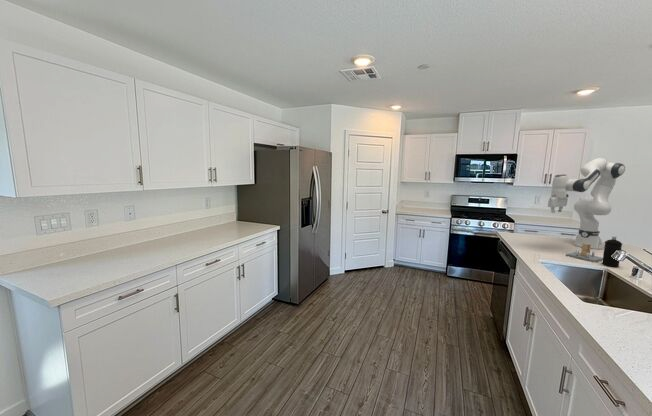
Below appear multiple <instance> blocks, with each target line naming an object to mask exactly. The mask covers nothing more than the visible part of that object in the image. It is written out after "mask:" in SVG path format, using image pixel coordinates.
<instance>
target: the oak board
mask: <svg viewBox="0 0 652 416" xmlns="http://www.w3.org/2000/svg"><path fill="white" fill-rule="evenodd" d="M591 249H592V248H591V244H587V243H585V244H582V247H581V251H580V253H581V256H584V257H586V254H587V253H589V255H591Z"/></svg>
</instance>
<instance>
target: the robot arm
mask: <svg viewBox="0 0 652 416" xmlns="http://www.w3.org/2000/svg"><path fill="white" fill-rule="evenodd" d="M625 172H626V166H625V165H624V164H623V163H621V162H619V163H618V162H610V161H609V162H608V160H607V159H605V158H604V157H603V158H602V157H597V158H595V159H592V160H590V161H588V162H587V163H585V164H584V165H583V166H581V168H580V173H581V175H582V176H583V177H584V178H570V177H568V175H567V174H557V175H554V177H553V179H552V183H551V186H552V189H551V192H550V194H551V195H550V197H549V198H548V200H547V207H548V208H550V211H551V213H553V214H554V213H556V210H555V209H556V208H558V209H557V212H558V213H562V210H563V208H564V207H566V206H567V205H568V198H569V196H570V195H569V194H568V193H567V192H576V193H585V192H586V191H587V190H588V189H589V188H590V186H592V184H593V183H594V182H595V181H596V180H597V179H598V180H597V181H596V182H595V184H594V185H593V188H592V189H591V191H590V195H591V196H592V197H593V199H592V200H577V201H576V202H575V203H574V204H573V209H574V211H575V212H576V213H577V214H578V217H579V220H580V223H579V224H580V225H579V229H578V233H577V234H576V235H575V239H574V242H572V244H573V245H575V246H577V247H579V248H582V244H585V243H587V244H591V248H590V249H593V250H594V249H595V250H596V249H597V250H602V249H604V247H605V244H602V243H603V242H602V241H603V240H602V239H601V238H600V236H599V235H600V231H599V224H600V221H599V220H598V219H596V218H595V216H607V215H609V214H610V213H611V211H612V206H611V204H609V196H610V194H611V193H612V191H613V189H614V186H615V185H616V181H617V179H618V178H620V177H621V176H622V175H623V174H624V173H625Z"/></svg>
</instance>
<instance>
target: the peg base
mask: <svg viewBox="0 0 652 416" xmlns="http://www.w3.org/2000/svg"><path fill="white" fill-rule="evenodd" d="M595 253H596V252H595V251H591V254H590V255H589V253H587V254H586V257H584V256H581V252H580V251H579V250H576V251H573V252H569V253H566V254H565V257H568V256H569V257H568V258H573V259H578V260H582V261H587V262H590V261H591V263H594V262H596V263H599V261H600V262H603V261H602V260H603V257H602V256H597V255H595Z"/></svg>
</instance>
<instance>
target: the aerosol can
mask: <svg viewBox="0 0 652 416" xmlns="http://www.w3.org/2000/svg"><path fill="white" fill-rule="evenodd" d="M604 246H605V247H604V248H603V255H602V256H603V257H602V258H603V261H601V265H602V264H603V265H602V266H605V267H609V268H620V261H617V260H615V259H613V258H612V257H611V255H612V254H613V253H614V252H615V251H616V250H621V251H622V246H623V243H622V242H621V241H619V240H617V236H611V239H607V240H605V241H604Z"/></svg>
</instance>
